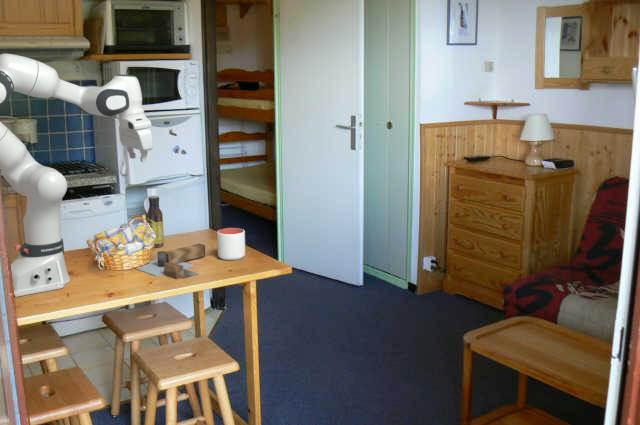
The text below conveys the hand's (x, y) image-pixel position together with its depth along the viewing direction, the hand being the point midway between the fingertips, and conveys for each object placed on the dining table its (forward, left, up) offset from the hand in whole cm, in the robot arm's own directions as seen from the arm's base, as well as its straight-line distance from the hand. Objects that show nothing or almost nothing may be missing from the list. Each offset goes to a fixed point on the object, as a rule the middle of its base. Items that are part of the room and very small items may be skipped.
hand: (138, 160), depth 248 cm
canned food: (+2, +12, -37) cm, 39 cm away
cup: (+24, -20, -37) cm, 49 cm away
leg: (+8, -11, -36) cm, 39 cm away
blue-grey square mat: (0, -11, -37) cm, 38 cm away
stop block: (-1, -24, -37) cm, 44 cm away
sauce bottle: (+14, +14, -37) cm, 42 cm away
